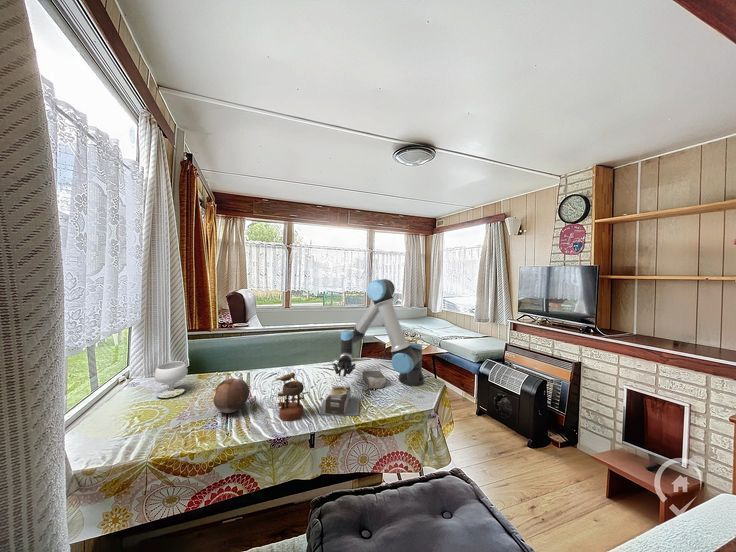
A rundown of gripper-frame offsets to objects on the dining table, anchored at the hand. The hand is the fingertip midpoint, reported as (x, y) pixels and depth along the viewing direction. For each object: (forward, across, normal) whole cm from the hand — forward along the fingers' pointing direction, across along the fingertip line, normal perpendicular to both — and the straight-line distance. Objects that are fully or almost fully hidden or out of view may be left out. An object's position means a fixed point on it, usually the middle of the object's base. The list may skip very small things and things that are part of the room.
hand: (341, 377), depth 139 cm
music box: (+13, +21, -13) cm, 28 cm away
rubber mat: (+6, 0, -12) cm, 14 cm away
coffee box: (-3, 0, -9) cm, 9 cm away
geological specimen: (-24, -18, -13) cm, 32 cm away
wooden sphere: (+11, +50, -13) cm, 52 cm away
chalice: (-3, +88, -13) cm, 89 cm away
